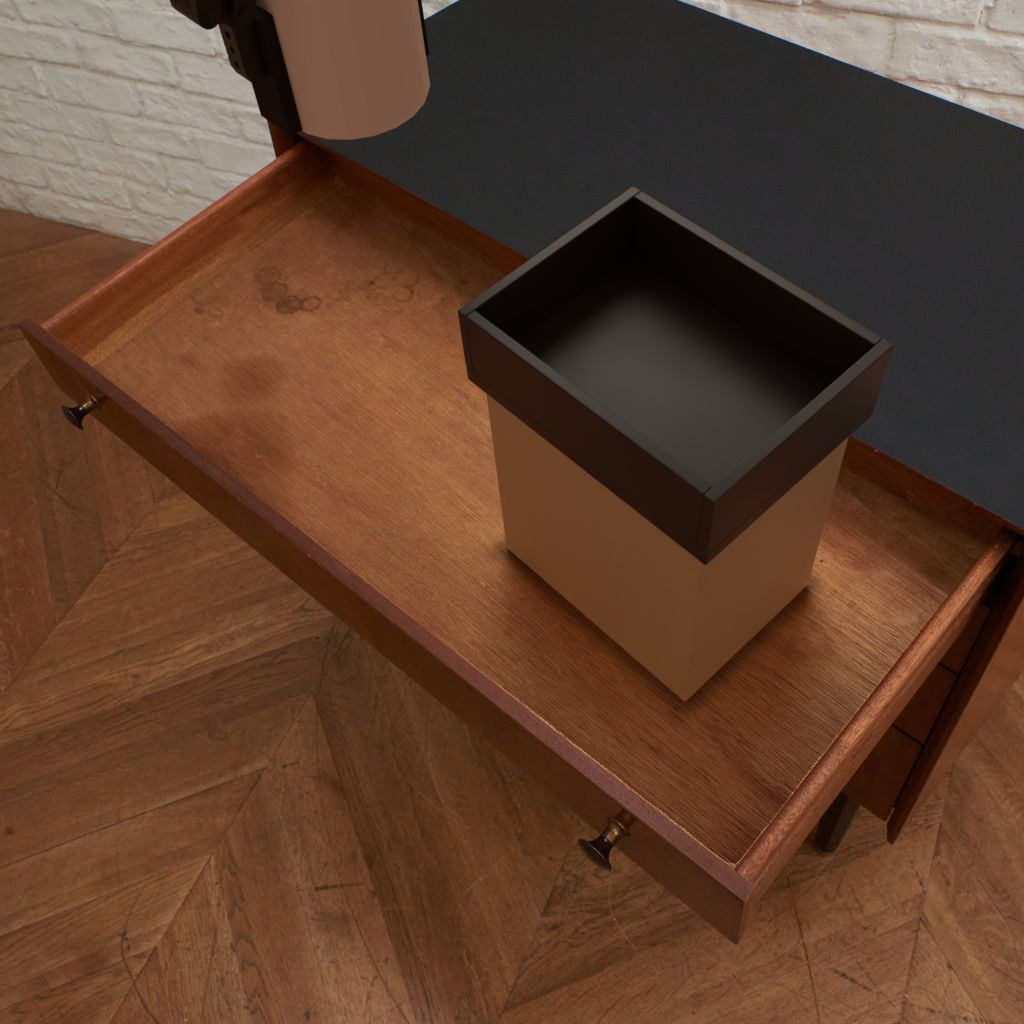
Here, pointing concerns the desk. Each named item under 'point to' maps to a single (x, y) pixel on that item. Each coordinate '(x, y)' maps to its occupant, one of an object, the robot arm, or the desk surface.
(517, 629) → the desk surface
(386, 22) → the mug
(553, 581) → the stand
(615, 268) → the basket
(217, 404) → the desk surface
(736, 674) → the desk surface
